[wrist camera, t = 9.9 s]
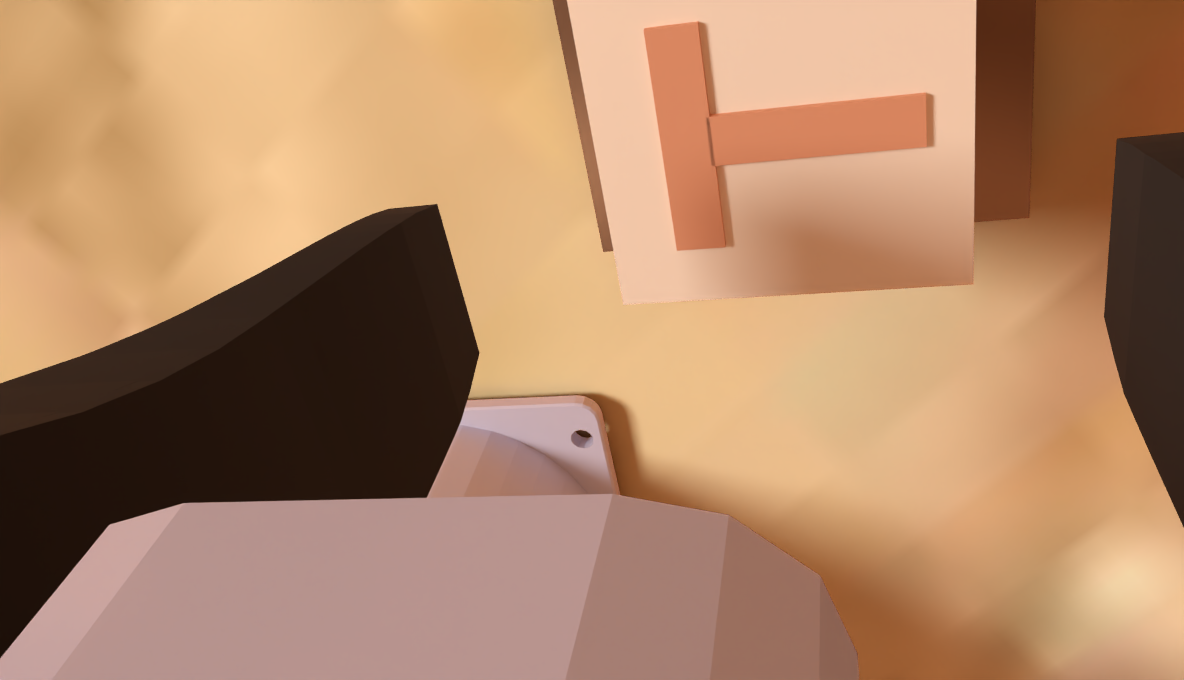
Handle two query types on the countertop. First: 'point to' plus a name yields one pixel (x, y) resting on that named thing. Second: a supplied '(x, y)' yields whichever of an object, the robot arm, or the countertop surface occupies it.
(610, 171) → the letter cube
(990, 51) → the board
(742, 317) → the countertop surface
